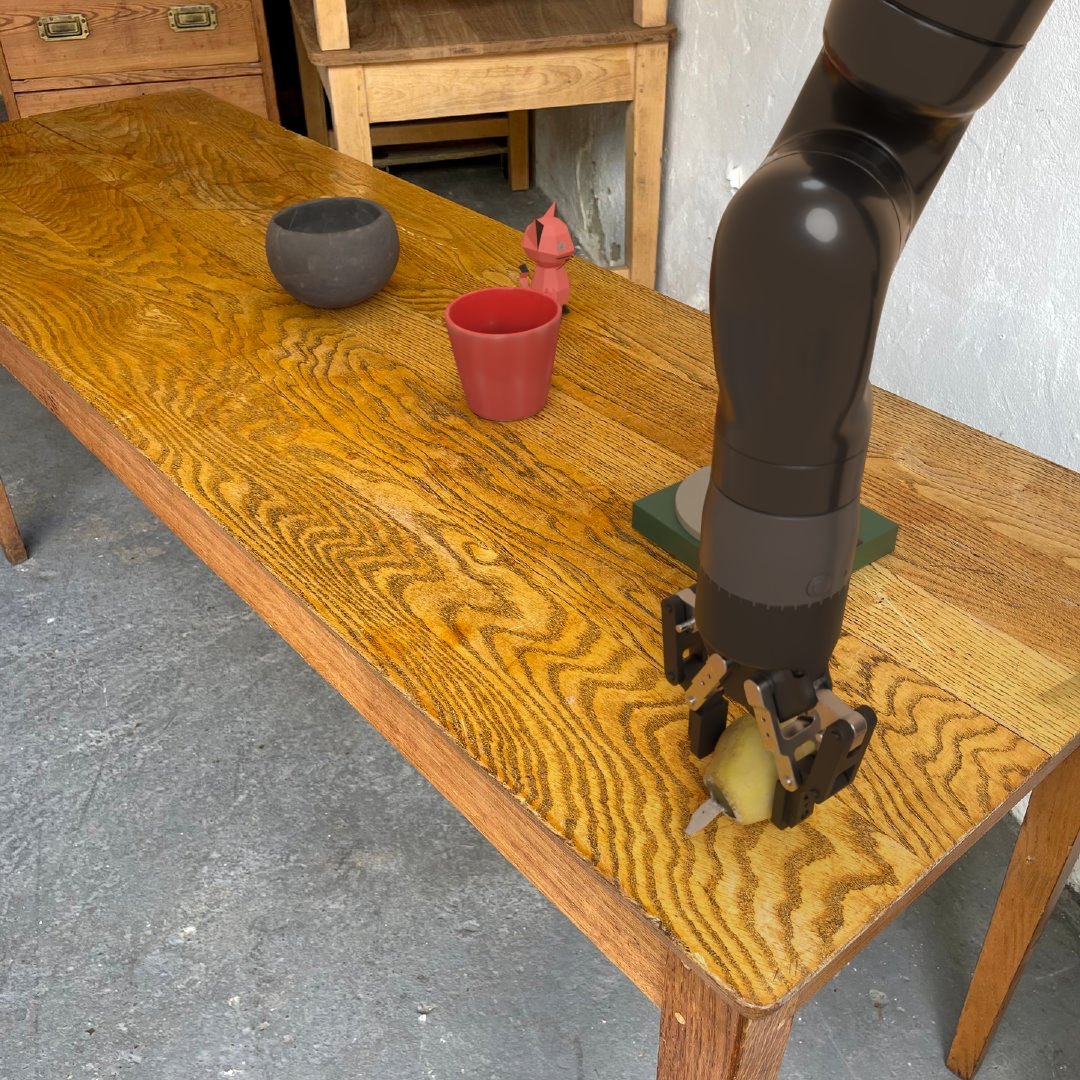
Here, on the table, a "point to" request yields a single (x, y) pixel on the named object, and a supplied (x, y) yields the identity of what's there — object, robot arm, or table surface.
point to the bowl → (332, 250)
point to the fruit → (739, 777)
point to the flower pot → (504, 349)
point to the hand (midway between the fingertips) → (745, 783)
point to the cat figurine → (548, 256)
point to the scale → (679, 514)
